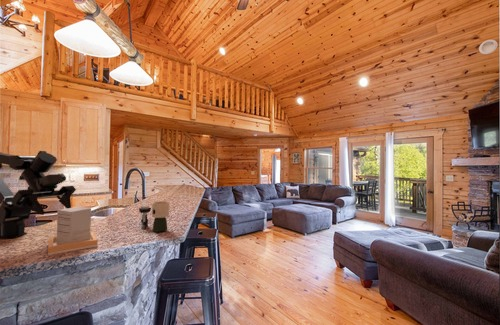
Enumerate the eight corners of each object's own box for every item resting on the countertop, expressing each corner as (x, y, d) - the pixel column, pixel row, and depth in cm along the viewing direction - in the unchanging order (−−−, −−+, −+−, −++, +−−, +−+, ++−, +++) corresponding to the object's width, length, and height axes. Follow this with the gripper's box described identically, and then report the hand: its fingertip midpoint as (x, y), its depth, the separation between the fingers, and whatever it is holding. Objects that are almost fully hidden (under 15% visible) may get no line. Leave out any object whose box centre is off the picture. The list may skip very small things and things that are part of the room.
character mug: (151, 228, 105) (152, 201, 106) (167, 227, 108) (168, 200, 108) (151, 235, 95) (152, 204, 96) (169, 233, 98) (170, 204, 98)
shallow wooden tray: (48, 255, 73) (48, 247, 73) (48, 243, 83) (49, 237, 83) (97, 246, 82) (97, 239, 82) (92, 236, 92) (93, 230, 92)
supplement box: (76, 238, 87) (78, 206, 87) (90, 241, 85) (91, 207, 85) (55, 245, 80) (56, 209, 80) (69, 247, 78) (71, 211, 78)
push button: (149, 229, 104) (150, 207, 105) (136, 229, 103) (137, 208, 103) (150, 225, 111) (151, 205, 111) (139, 226, 109) (139, 205, 109)
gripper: (18, 166, 77) (40, 201, 74) (73, 166, 95) (93, 194, 92) (1, 188, 79) (22, 222, 76) (58, 184, 97) (77, 211, 94)
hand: (57, 211), depth 84 cm, fingers open, 9 cm apart
